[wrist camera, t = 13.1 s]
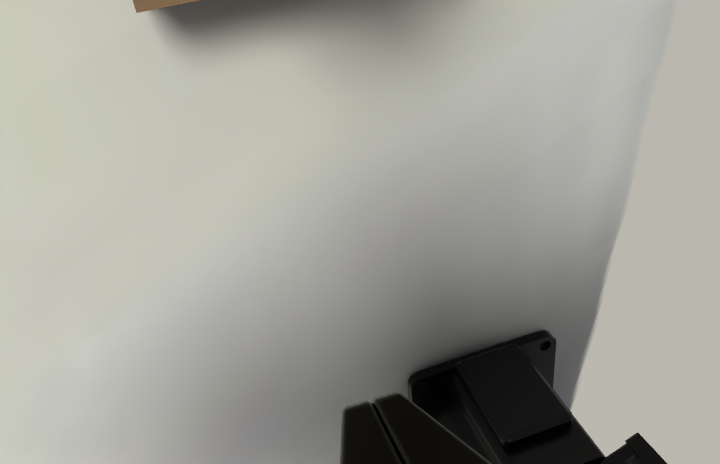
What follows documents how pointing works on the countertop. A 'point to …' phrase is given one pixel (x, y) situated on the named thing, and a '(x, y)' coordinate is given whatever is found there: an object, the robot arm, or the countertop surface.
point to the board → (156, 4)
